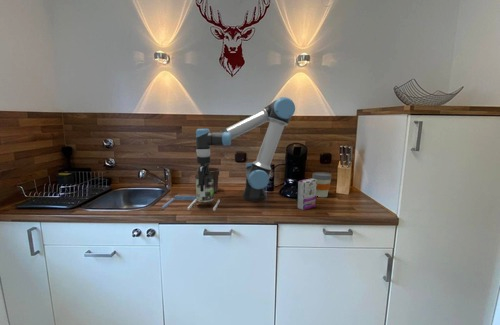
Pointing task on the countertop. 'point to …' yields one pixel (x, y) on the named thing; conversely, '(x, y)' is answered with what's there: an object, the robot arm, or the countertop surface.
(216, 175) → the plant pot
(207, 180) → the coffee can
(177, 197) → the divider rack
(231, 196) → the countertop surface
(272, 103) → the robot arm
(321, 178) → the reusable coffee cup
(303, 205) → the candy bar box
